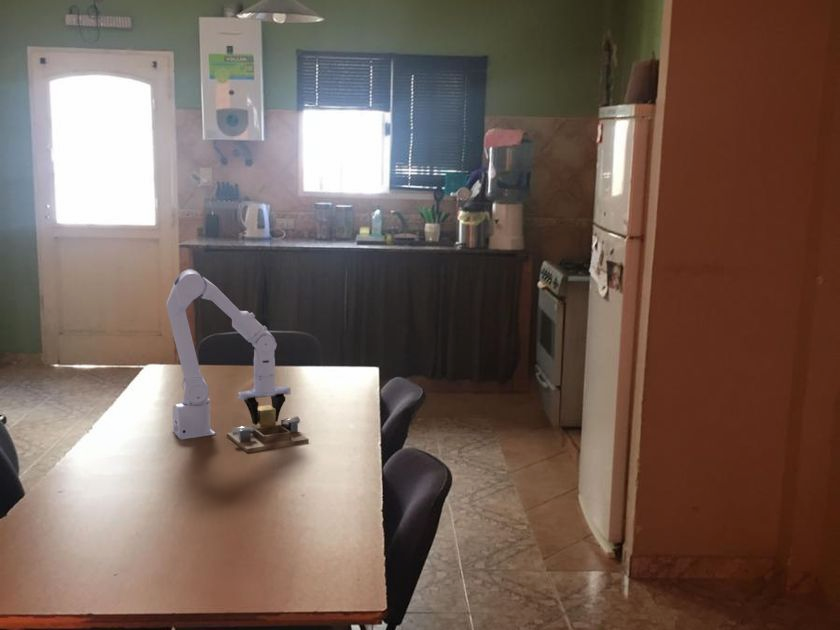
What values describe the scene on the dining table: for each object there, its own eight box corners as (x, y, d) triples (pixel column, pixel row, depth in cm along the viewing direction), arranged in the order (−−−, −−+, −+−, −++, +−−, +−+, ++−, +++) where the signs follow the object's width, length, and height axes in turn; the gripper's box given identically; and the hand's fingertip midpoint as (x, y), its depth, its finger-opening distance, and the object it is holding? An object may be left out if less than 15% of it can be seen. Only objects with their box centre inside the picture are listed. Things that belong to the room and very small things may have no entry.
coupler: (259, 430, 238) (258, 411, 237) (253, 426, 242) (252, 407, 241) (277, 428, 241) (277, 408, 240) (271, 423, 244) (270, 404, 244)
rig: (246, 452, 220) (246, 441, 219) (226, 436, 232) (226, 425, 232) (308, 442, 229) (308, 431, 228) (286, 427, 241) (286, 417, 241)
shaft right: (292, 428, 238) (292, 415, 237) (302, 430, 236) (301, 417, 235) (279, 432, 234) (279, 419, 233) (289, 434, 232) (289, 421, 231)
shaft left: (233, 443, 224) (233, 429, 223) (231, 439, 227) (231, 425, 227) (255, 441, 226) (255, 428, 225) (253, 437, 229) (253, 424, 229)
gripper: (244, 380, 232) (245, 429, 234) (294, 374, 239) (295, 422, 241) (235, 375, 237) (236, 423, 240) (284, 369, 245) (285, 415, 247)
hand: (265, 422), depth 241 cm, fingers closed on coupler, 5 cm apart
